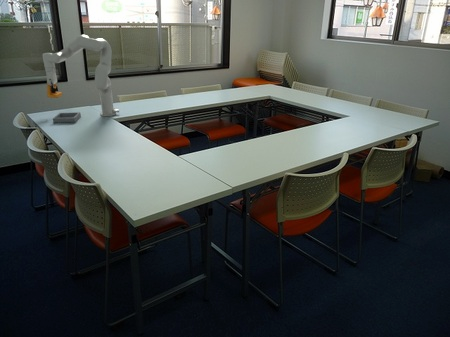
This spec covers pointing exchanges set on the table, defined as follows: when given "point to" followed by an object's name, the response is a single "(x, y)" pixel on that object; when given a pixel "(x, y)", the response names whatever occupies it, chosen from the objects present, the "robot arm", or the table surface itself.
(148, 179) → the table surface
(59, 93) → the bracket
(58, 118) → the bin
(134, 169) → the table surface
